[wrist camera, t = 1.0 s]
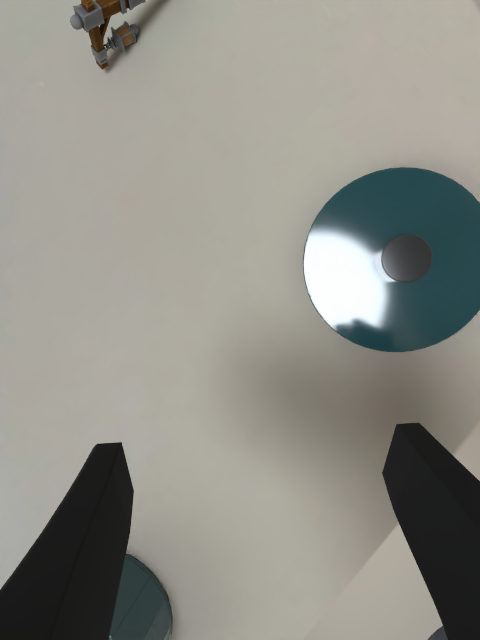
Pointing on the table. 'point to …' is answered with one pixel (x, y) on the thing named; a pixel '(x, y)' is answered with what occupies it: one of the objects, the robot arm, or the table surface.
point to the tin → (140, 605)
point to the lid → (396, 259)
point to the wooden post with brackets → (104, 25)
